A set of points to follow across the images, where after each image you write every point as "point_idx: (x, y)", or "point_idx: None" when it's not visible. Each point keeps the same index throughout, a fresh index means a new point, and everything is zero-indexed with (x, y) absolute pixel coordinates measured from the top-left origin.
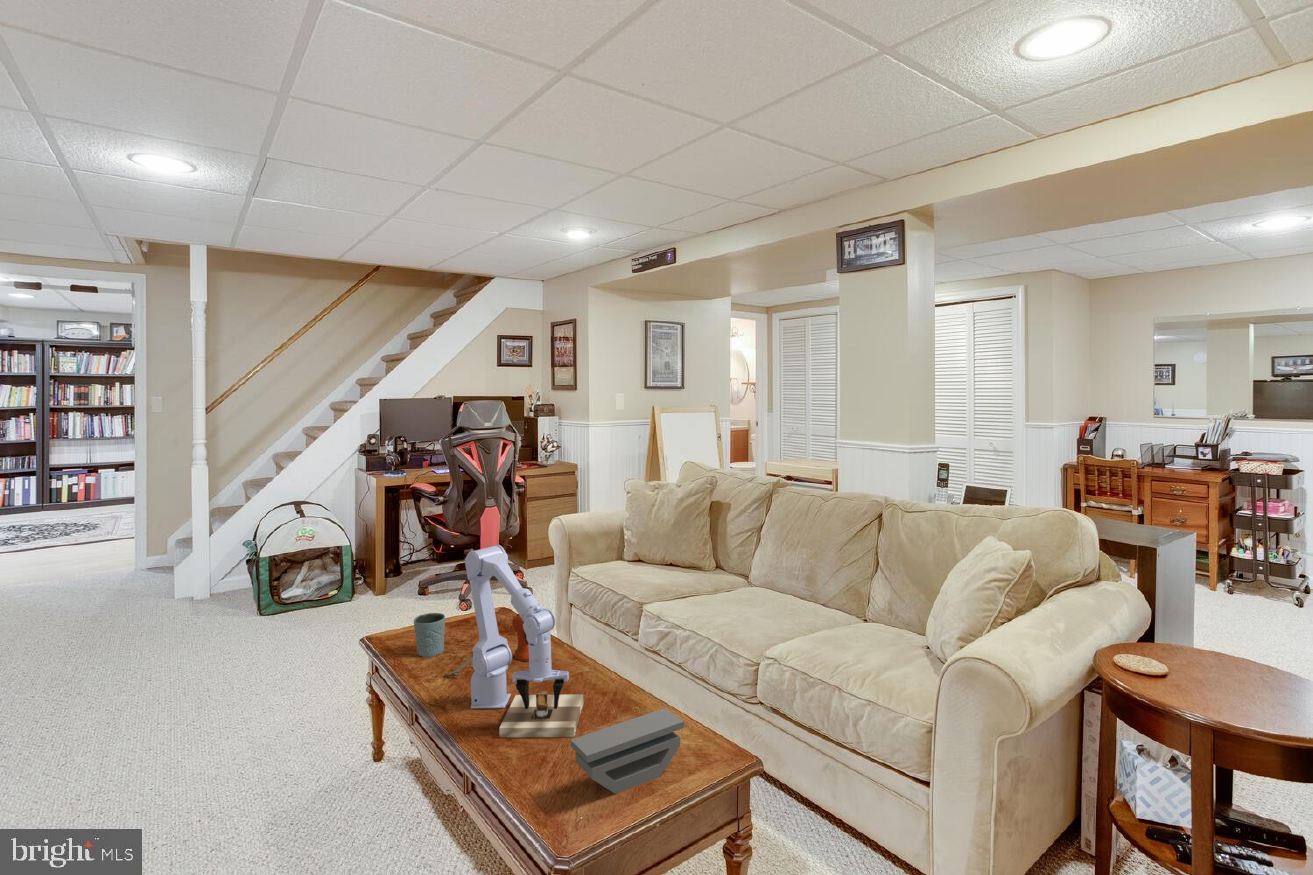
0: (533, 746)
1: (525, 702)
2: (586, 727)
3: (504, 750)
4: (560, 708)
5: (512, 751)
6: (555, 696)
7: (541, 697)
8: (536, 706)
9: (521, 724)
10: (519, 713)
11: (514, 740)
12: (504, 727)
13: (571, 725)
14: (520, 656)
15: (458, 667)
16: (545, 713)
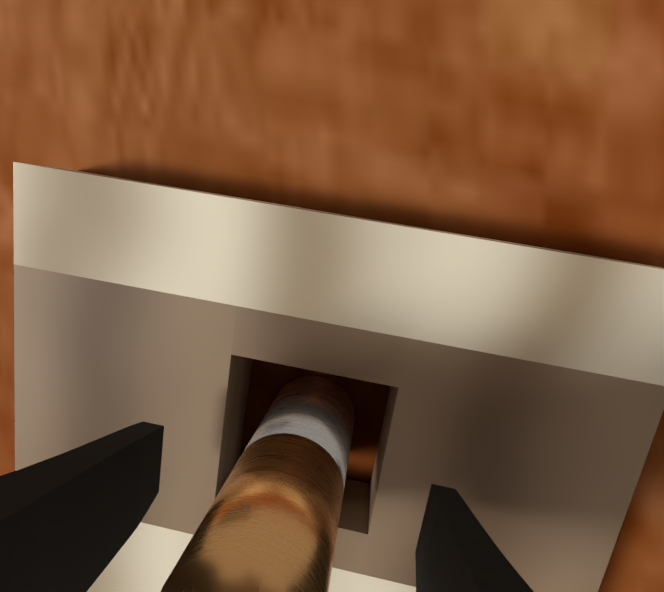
0: (369, 72)
1: (467, 530)
2: (11, 287)
3: (615, 39)
4: (158, 498)
5: (544, 12)
6: (31, 488)
7: (243, 537)
8: (337, 491)
9: (482, 303)
10: (499, 499)
11: (524, 195)
12: (655, 275)
13: (39, 199)
14: None
15: None
16: (264, 422)
